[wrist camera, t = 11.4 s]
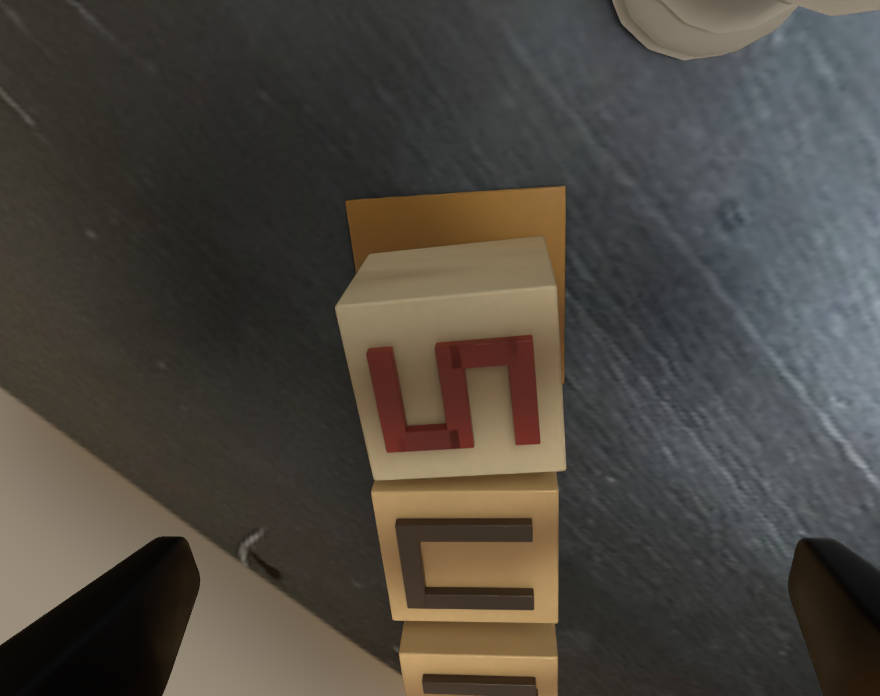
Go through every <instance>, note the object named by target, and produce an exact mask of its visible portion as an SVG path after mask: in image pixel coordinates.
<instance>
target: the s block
mask: <svg viewBox="0 0 880 696" xmlns="http://www.w3.org/2000/svg"><path fill="white" fill-rule="evenodd" d="M335 311H336V315H337V320H338V324H339V329H340V333H341V337H342V342H343V346H344V351H345V355H346V359H347V364H348V368H349V373H350V377H351V381H352V386H353V390H354V395H355V399H356V403H357V408H358V412H359V417H360V421H361V425H362V430H363V434H364V439H365V443H366V447H367V452H368V456H369V461H370V465H371V470H372V474H373V478H374V480H376V481H379V480H399V479H418V478H438V477H458V476H477V475H497V474H517V473H536V472H556V471H565V470H566V449H565V430H564V411H563V392H562V372H561V353H560V334H559V315H558V295H557V285H556V281H555V277H554V273H553V269H552V265H551V261H550V257H549V252H548V248H547V244H546V240H545V237H544V236H534V237H525V238H515V239H506V240H497V241H487V242H478V243H468V244H459V245H449V246H440V247H430V248H421V249H411V250H402V251H392V252H383V253H373V254H369V255H368V256H367V258H366V259H365V261H364V263H363V264H362V266H361V267H360V269H359V270H358V272H357V273H356V275H355V276H354V278H353V280H352V281H351V283H350V284H349V286H348V287H347V289H346V290H345V292H344V293H343V295H342V297H341V298H340V300H339V301H338V303H337V304H336V306H335Z"/></svg>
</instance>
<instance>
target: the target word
mask: <svg viewBox="0 0 880 696" xmlns="http://www.w3.org/2000/svg"><path fill="white" fill-rule="evenodd" d="M345 204H346V211H347V217H348V224H349V230H350V237H351V243H352V250H353V256H354V263H355V269H356V273H357V272H358V270H359V269H360V267H361V266H362V264H363V263H364V261H365V259H366V258H367V256H368V255H369V254H373V253H383V252H392V251H402V250H411V249H421V248H430V247H440V246H449V245H459V244H468V243H478V242H487V241H497V240H506V239H515V238H525V237H534V236H544V237H545V240H546V244H547V248H548V252H549V257H550V261H551V265H552V269H553V273H554V277H555V281H556V285H557V295H558V315H559V334H560V353H561V372H562V384H564V362H565V228H566V187H565V185H561V186H546V187H532V188H517V189H502V190H487V191H472V192H457V193H443V194H428V195H413V196H398V197H383V198H369V199H354V200H346V201H345ZM371 496H372V501H373V507H374V513H375V519H376V525H377V531H378V537H379V542H380V548H381V554H382V560H383V566H384V572H385V577H386V583H387V589H388V595H389V601H390V607H391V612H392V618H393V620H394V621H404V625H403V631H402V637H401V643H400V649H399V658H400V664H401V670H402V676H403V681H404V687H405V693H406V696H558V652H557V642H556V631H555V623H558V517H559V490H558V483H557V476H556V472H536V473H517V474H497V475H477V476H458V477H438V478H418V479H399V480H379V481H376V480H374V484H373V487H372V491H371Z"/></svg>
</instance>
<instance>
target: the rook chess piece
mask: <svg viewBox="0 0 880 696" xmlns="http://www.w3.org/2000/svg"><path fill="white" fill-rule="evenodd" d="M612 1H613V4H614V7H615V9H616V12H617V14H618V17H619V19H620V22H621V24H622V25H623V26H624V27H625V28H626V29H627V30H629V31H630V32H631V33H632V34H633V35H634V36H635V37H636V38H637V39H638V40H639V41H640V42H641V43H642V44H643V45H644V46H645V47H646V48H647V49H649V50H652V51H655V52H658V53H661V54H665V55H668V56H671V57H674V58H677V59H681V60H690V59H698V58H705V57H713V56H720V55H724V54H726V53H732V52H736V51H738V50H740V49H742V48H744V47H746V46H747V45H749V44H751V43H753V42H755V41H756V40H758V39H760V38H762V37H764V36H766V35H767V34H769V33H771V32H773V31H775V30H776V29H777V28H778V27H779V26H780V25H781V24H782V23H783V22H784V21H785V20H786V19H787V18H788V17H789V15H790V14H791V13H792V12H793V11H794V10H795V9H796V8H797V7H798V6H801V7H804V8H807V9H810V10H814V11H817V12H820V13H823V14H826V15H829V16H838V15H846V14H853V13H860V12H868V11H875V10H880V0H612Z"/></svg>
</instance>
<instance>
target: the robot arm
mask: <svg viewBox="0 0 880 696" xmlns="http://www.w3.org/2000/svg"><path fill="white" fill-rule="evenodd" d="M199 586H200V575H199V571H198V568H197V565H196V563H195V560H194V557H193V554H192V552H191V549H190V546H189V543H188V542H187V540H186V539H185V538H184V537H165V536H164V537H163V536H162V537H158V538H156V539H154V540H152V541H151V542H149V543H148V544H146V545H145V546H144V547H142V548H141V549H139V550H138V551H136V552H135V553H133V554H132V555H130V556H129V557H128V558H126V559H125V560H123V561H122V562H120V563H119V564H117V565H116V566H115V567H113V568H112V569H110V570H109V571H107V572H106V573H104V574H103V575H102V576H100V577H99V578H97V579H96V580H94V581H93V582H91V583H90V584H88V585H87V586H86V587H84V588H83V589H81V590H80V591H78V592H77V593H75V594H74V595H72V596H71V597H70V598H68V599H67V600H65V601H64V602H62V603H61V604H59V605H58V606H57V607H55V608H54V609H52V610H51V611H50V612H48V613H46V614H45V615H43V616H42V617H41V618H39V619H38V620H36V621H35V622H34V623H32V624H30V625H29V626H28V627H26V628H25V629H23V630H22V631H21V632H19V633H17V634H16V635H14V636H13V637H12V638H10V639H9V640H7V641H6V642H4V643H3V644H1V645H0V696H162V695H163V693H164V690H165V688H166V685H167V682H168V680H169V677H170V674H171V671H172V669H173V665H174V662H175V659H176V656H177V654H178V651H179V647H180V645H181V642H182V639H183V636H184V633H185V630H186V627H187V624H188V621H189V618H190V615H191V612H192V609H193V606H194V603H195V600H196V597H197V594H198V591H199ZM788 590H789V595H790V599H791V602H792V605H793V608H794V611H795V614H796V617H797V619H798V622H799V625H800V628H801V631H802V634H803V637H804V640H805V643H806V646H807V648H808V651H809V654H810V657H811V660H812V663H813V666H814V669H815V672H816V675H817V677H818V680H819V683H820V686H821V689H822V692H823V695H824V696H880V570H879V569H878V568H876V567H875V566H873V565H872V564H870V563H869V562H867V561H866V560H865V559H863V558H862V557H860V556H859V555H857V554H856V553H854V552H853V551H852V550H850V549H849V548H847V547H846V546H844V545H843V544H841V543H840V542H838V541H836V540H834V539H832V538H802V539H800V540H799V542H798V543H797V545H796V549H795V553H794V558H793V562H792V566H791V570H790V575H789V580H788Z"/></svg>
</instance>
